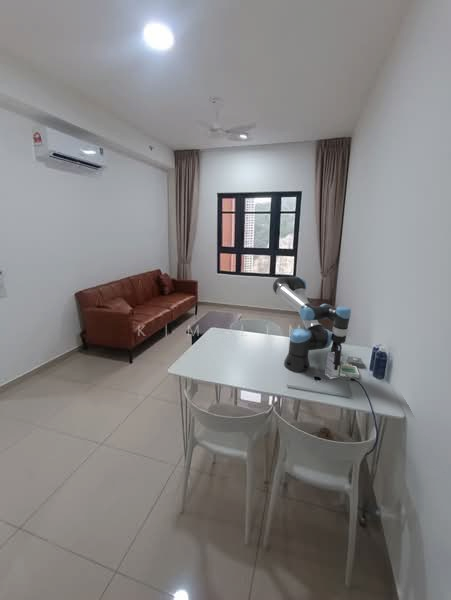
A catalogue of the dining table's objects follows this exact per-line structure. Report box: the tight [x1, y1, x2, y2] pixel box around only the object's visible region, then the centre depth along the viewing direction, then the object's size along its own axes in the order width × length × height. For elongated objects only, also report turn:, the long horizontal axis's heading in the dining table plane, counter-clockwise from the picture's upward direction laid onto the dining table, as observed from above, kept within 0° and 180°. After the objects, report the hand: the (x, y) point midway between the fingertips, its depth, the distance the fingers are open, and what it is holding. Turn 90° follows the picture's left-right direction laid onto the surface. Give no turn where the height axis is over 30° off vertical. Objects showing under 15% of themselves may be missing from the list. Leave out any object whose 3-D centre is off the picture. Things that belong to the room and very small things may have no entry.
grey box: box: [346, 355, 364, 371], centre depth 170 cm, size 8×13×4 cm, turn 165°
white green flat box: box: [340, 362, 360, 380], centre depth 162 cm, size 10×13×3 cm
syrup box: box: [324, 351, 344, 377], centre depth 155 cm, size 6×6×14 cm
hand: (333, 368), depth 155 cm, fingers open, 13 cm apart
